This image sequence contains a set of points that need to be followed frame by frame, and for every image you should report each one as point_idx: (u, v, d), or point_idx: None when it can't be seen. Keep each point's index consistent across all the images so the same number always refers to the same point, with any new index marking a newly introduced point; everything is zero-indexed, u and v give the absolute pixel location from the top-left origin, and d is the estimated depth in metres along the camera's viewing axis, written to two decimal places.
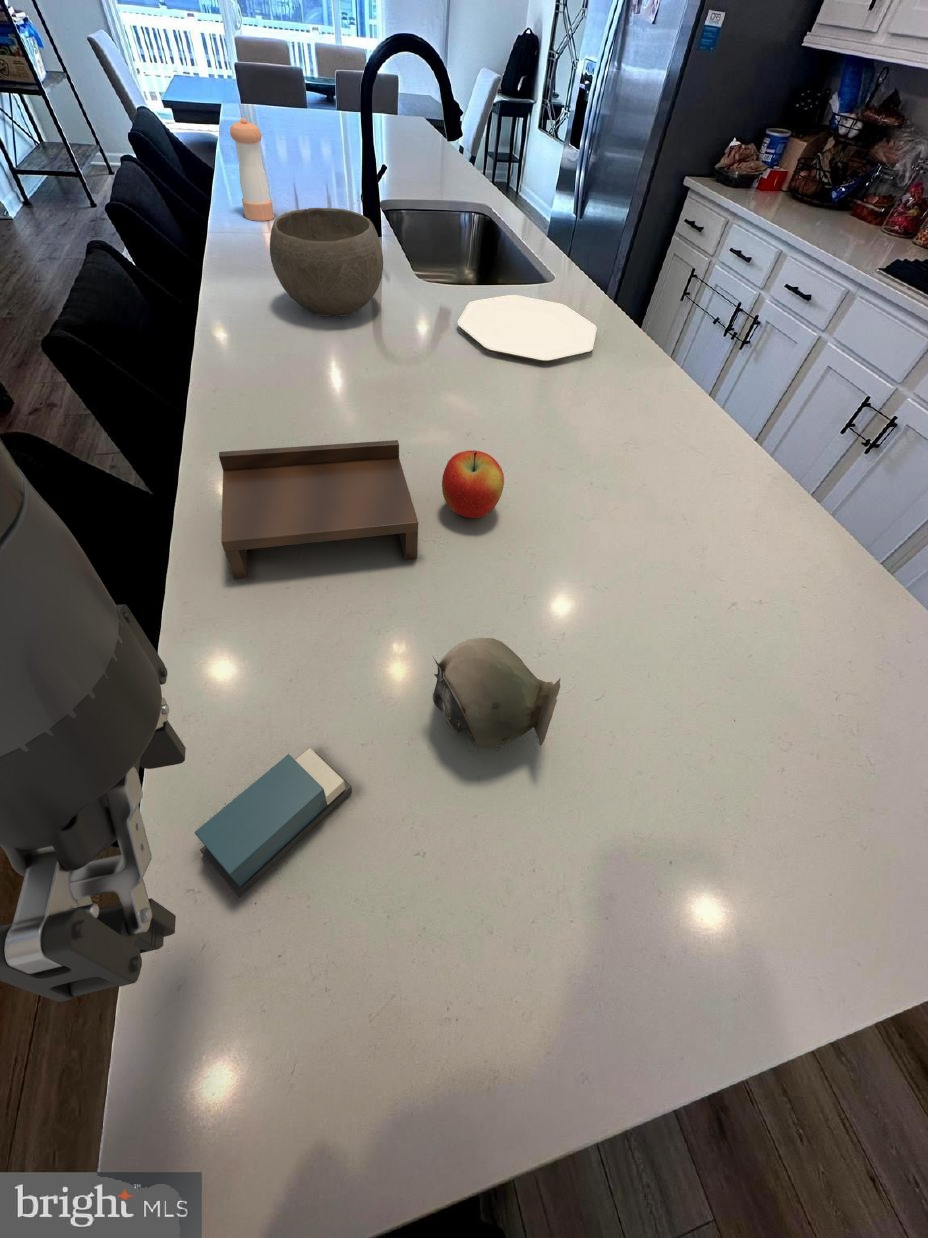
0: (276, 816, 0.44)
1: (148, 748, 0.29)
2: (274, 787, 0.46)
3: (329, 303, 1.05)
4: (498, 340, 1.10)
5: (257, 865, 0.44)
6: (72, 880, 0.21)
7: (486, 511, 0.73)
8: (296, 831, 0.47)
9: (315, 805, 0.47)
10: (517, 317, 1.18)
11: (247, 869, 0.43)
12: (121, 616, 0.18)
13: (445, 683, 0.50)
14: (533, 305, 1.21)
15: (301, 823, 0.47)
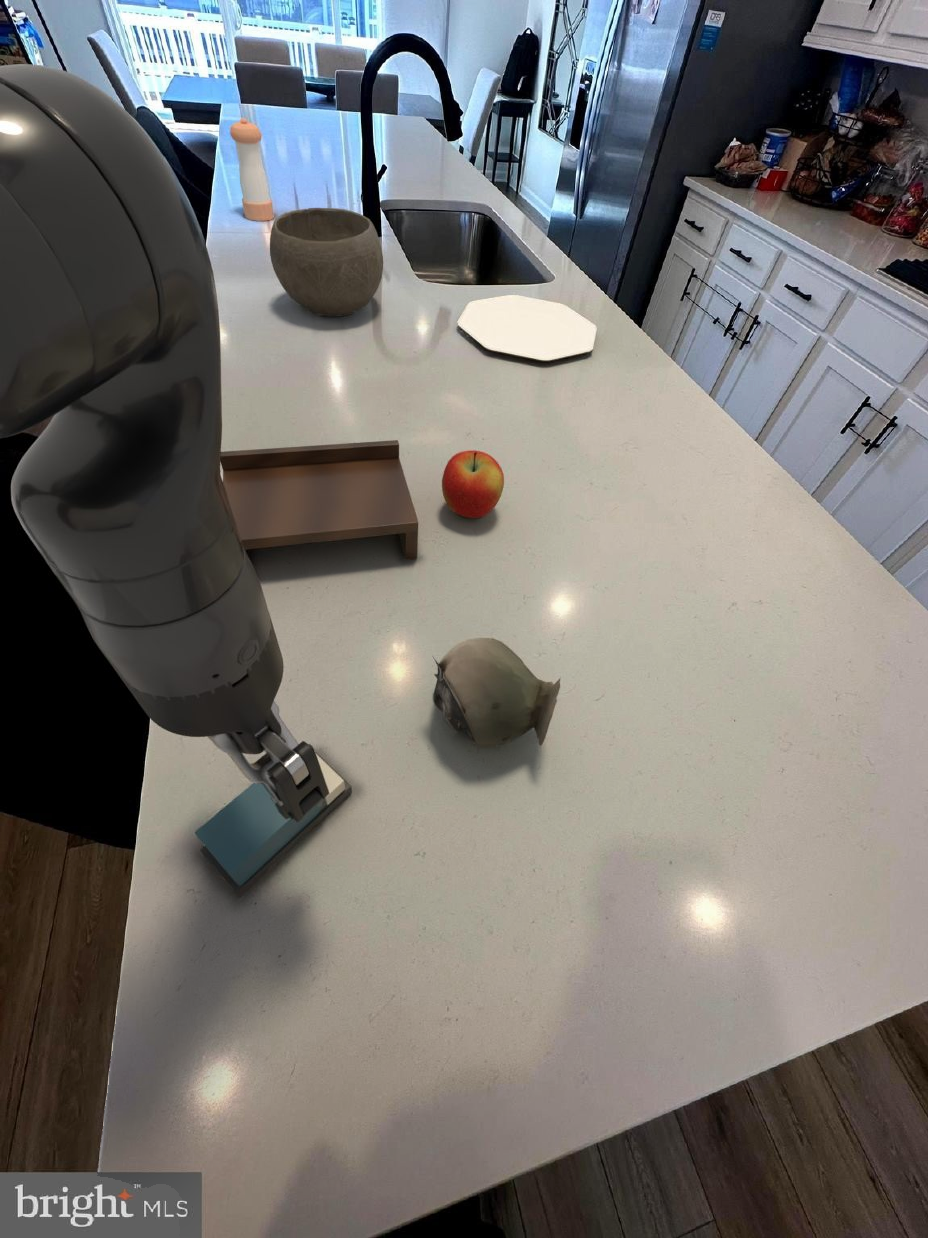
0: (276, 816, 0.44)
1: None
2: None
3: (329, 303, 1.05)
4: (498, 340, 1.10)
5: (257, 865, 0.44)
6: (263, 765, 0.34)
7: (486, 511, 0.73)
8: (296, 831, 0.47)
9: (315, 805, 0.47)
10: (517, 317, 1.18)
11: (247, 869, 0.43)
12: None
13: (445, 683, 0.50)
14: (533, 305, 1.21)
15: (301, 823, 0.46)
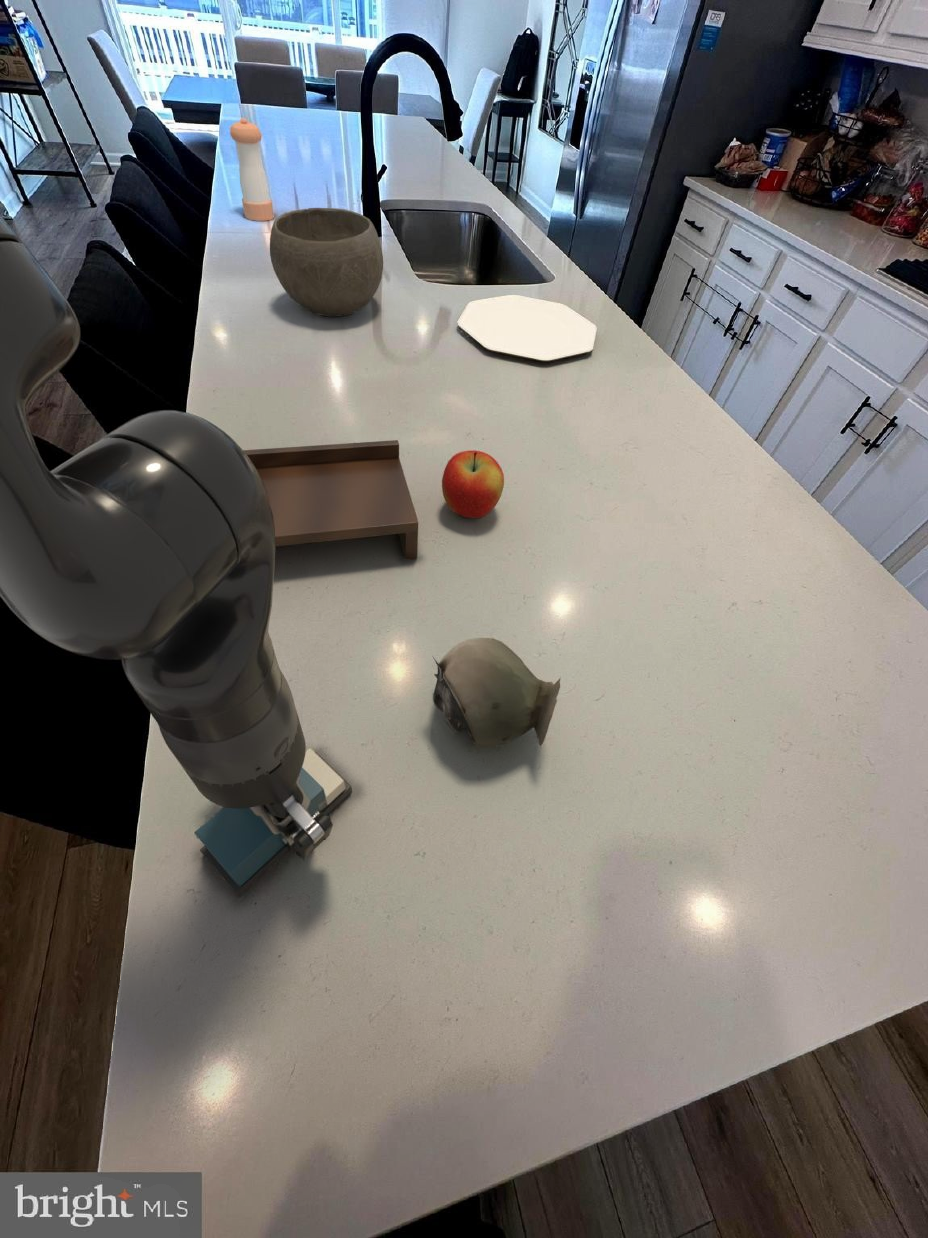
0: None
1: None
2: None
3: (329, 303, 1.05)
4: (498, 340, 1.10)
5: (257, 865, 0.44)
6: (282, 819, 0.42)
7: (486, 511, 0.73)
8: None
9: (315, 805, 0.47)
10: (517, 317, 1.18)
11: (247, 869, 0.43)
12: None
13: (445, 683, 0.50)
14: (533, 305, 1.21)
15: None
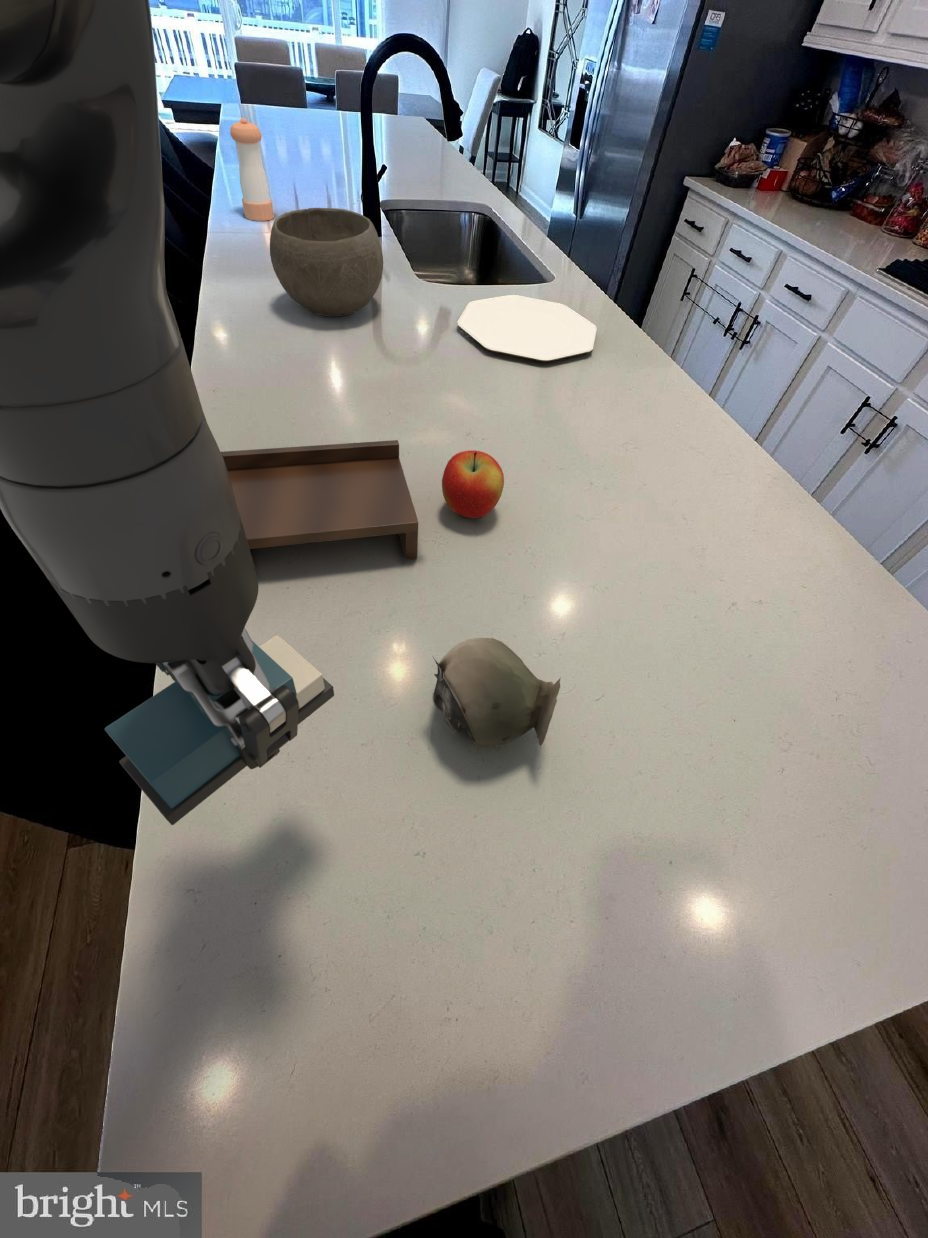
0: None
1: None
2: None
3: (329, 303, 1.05)
4: (498, 340, 1.10)
5: (197, 779, 0.31)
6: (228, 705, 0.29)
7: (486, 511, 0.73)
8: None
9: None
10: (517, 317, 1.18)
11: (181, 782, 0.30)
12: None
13: (445, 683, 0.50)
14: (533, 305, 1.21)
15: None
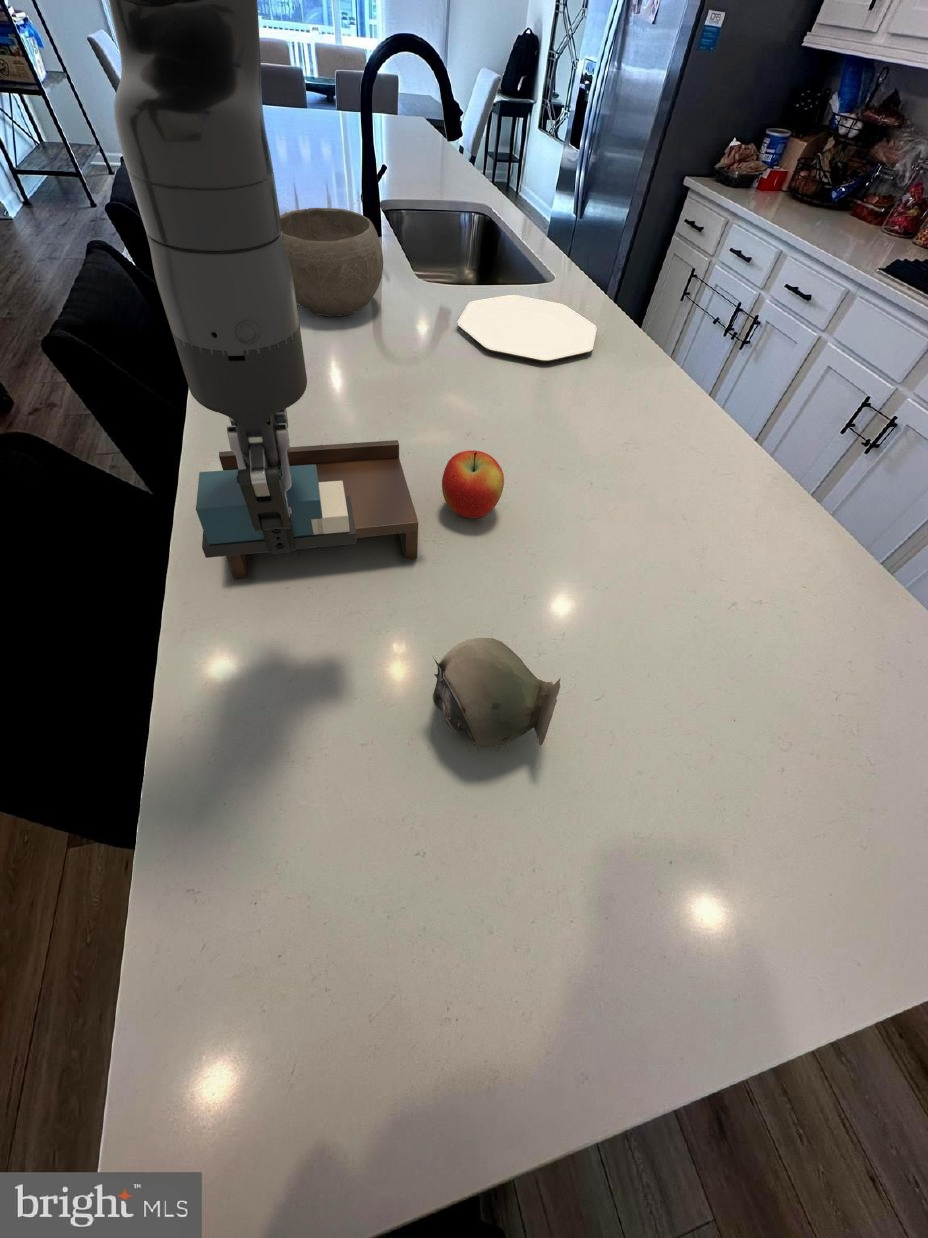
0: None
1: None
2: None
3: (329, 303, 1.05)
4: (498, 340, 1.10)
5: (230, 533, 0.44)
6: None
7: (486, 511, 0.73)
8: None
9: (307, 515, 0.44)
10: (517, 317, 1.18)
11: (217, 526, 0.43)
12: None
13: (446, 683, 0.50)
14: (533, 305, 1.21)
15: None
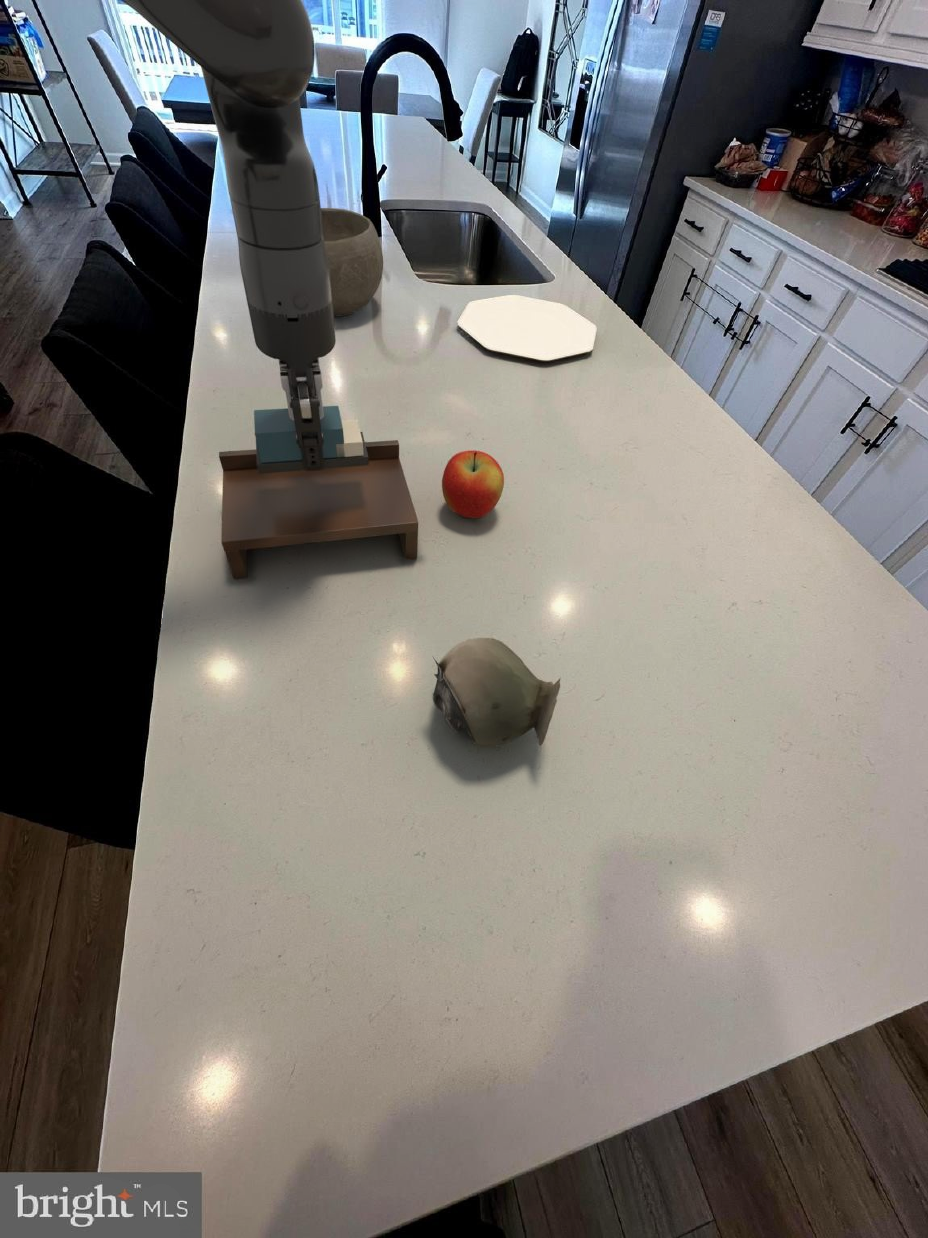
0: None
1: None
2: None
3: None
4: (498, 340, 1.10)
5: (277, 454, 0.60)
6: None
7: (486, 511, 0.73)
8: None
9: (333, 441, 0.60)
10: (517, 317, 1.18)
11: (269, 447, 0.59)
12: None
13: (445, 683, 0.50)
14: (533, 305, 1.21)
15: None
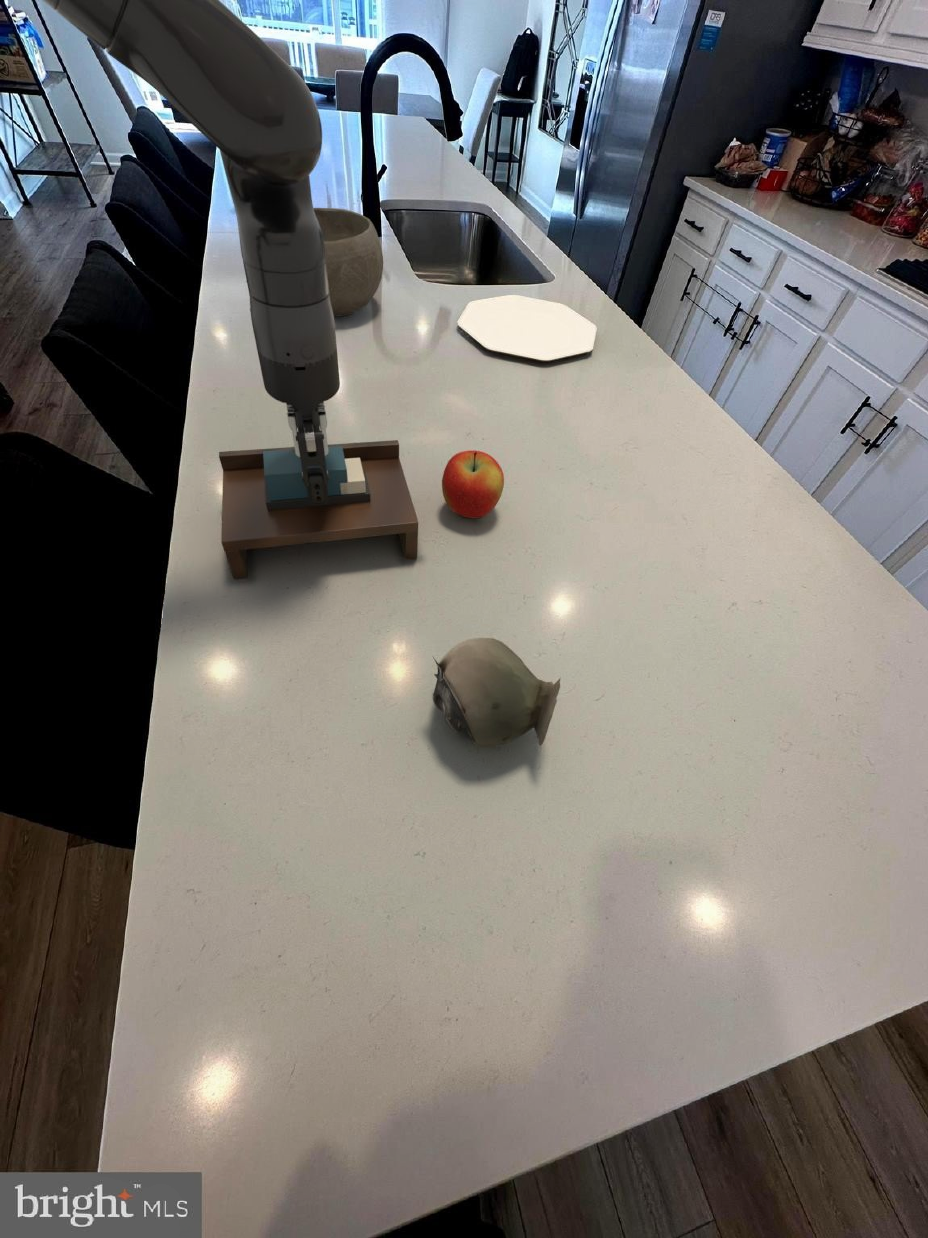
0: (310, 466, 0.63)
1: None
2: None
3: None
4: (498, 340, 1.10)
5: (285, 493, 0.64)
6: None
7: (486, 511, 0.73)
8: None
9: (337, 480, 0.64)
10: (517, 317, 1.18)
11: (277, 487, 0.63)
12: None
13: (445, 683, 0.50)
14: (533, 305, 1.21)
15: None
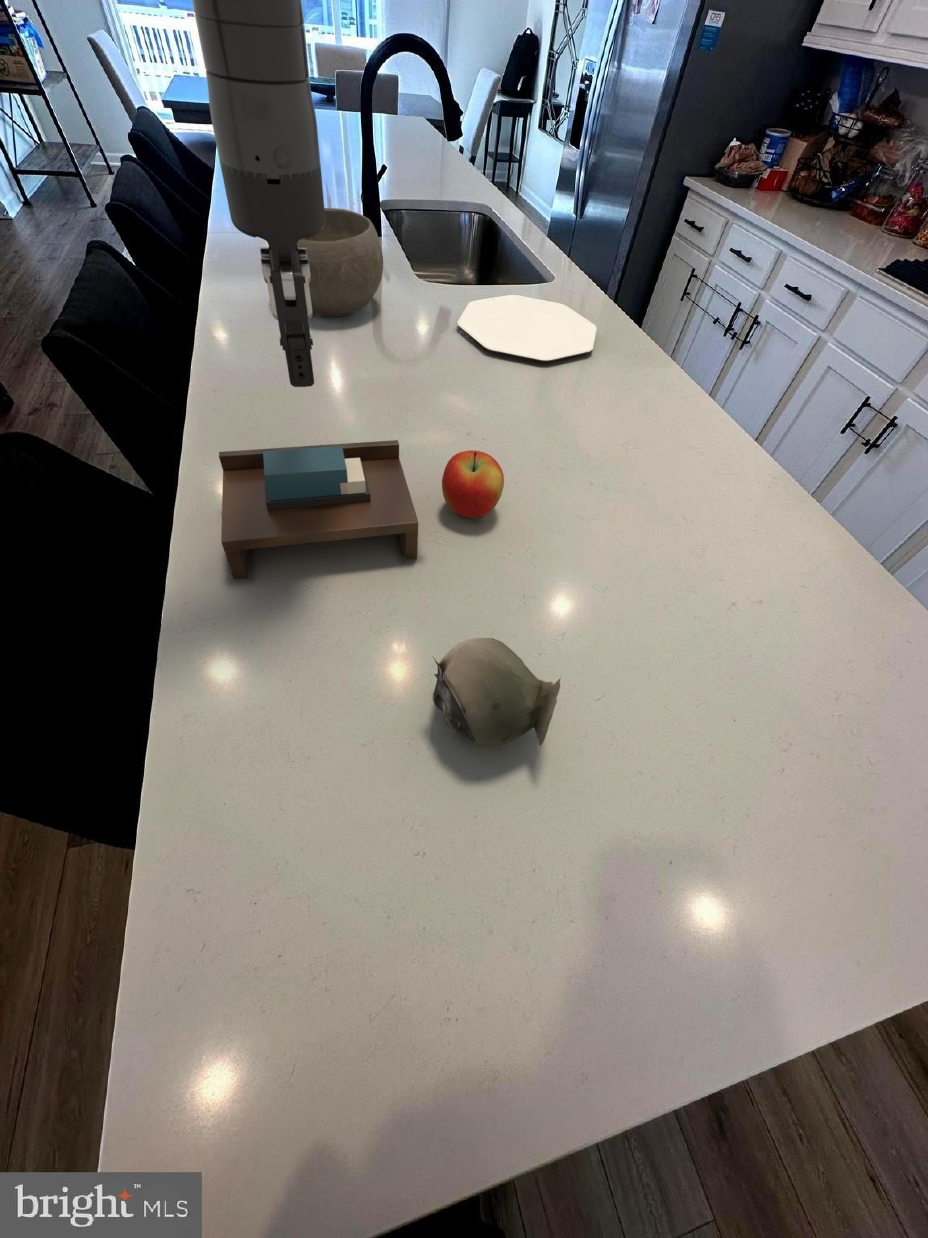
0: (310, 466, 0.63)
1: (292, 321, 0.56)
2: (320, 454, 0.65)
3: (329, 303, 1.05)
4: (498, 340, 1.10)
5: (285, 493, 0.64)
6: None
7: (486, 511, 0.73)
8: (319, 492, 0.65)
9: (337, 480, 0.64)
10: (517, 317, 1.18)
11: (277, 487, 0.63)
12: None
13: (446, 683, 0.50)
14: (533, 305, 1.21)
15: (324, 487, 0.65)
